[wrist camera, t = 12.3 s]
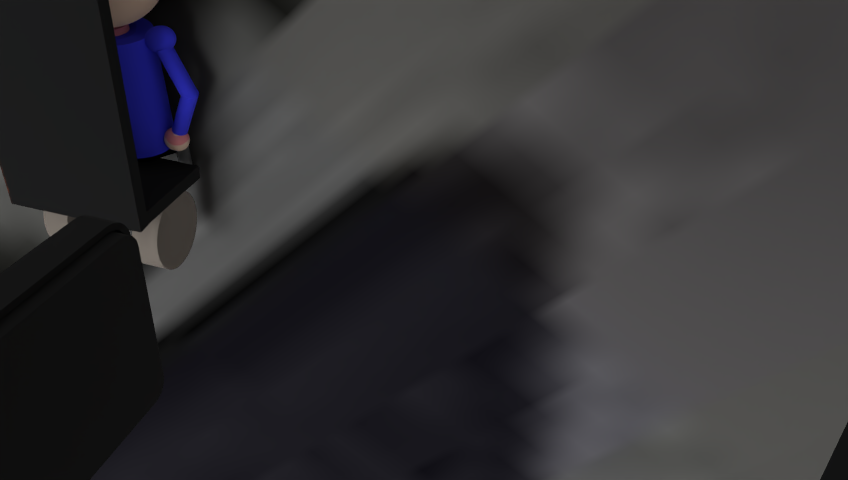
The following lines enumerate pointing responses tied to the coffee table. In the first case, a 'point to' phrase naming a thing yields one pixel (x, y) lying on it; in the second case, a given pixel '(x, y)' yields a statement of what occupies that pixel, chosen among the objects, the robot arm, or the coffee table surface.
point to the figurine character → (97, 120)
